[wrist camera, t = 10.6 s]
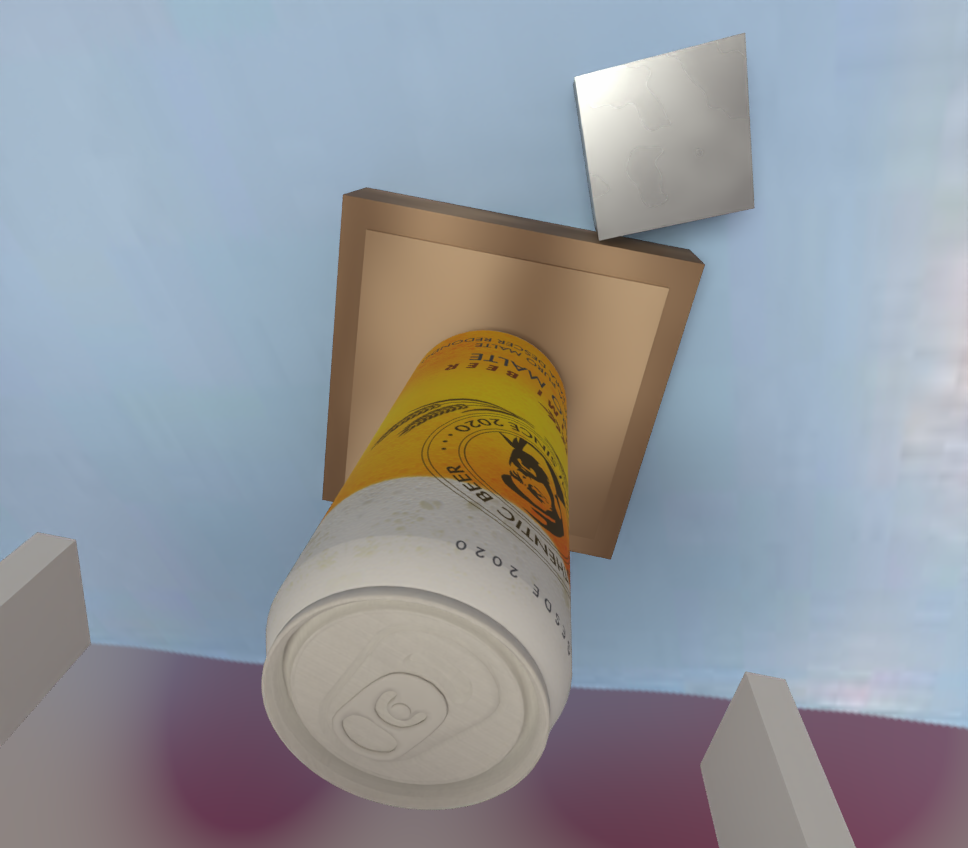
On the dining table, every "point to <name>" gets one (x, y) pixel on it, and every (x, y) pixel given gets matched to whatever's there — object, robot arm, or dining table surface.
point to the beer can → (436, 590)
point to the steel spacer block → (667, 138)
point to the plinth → (509, 330)
